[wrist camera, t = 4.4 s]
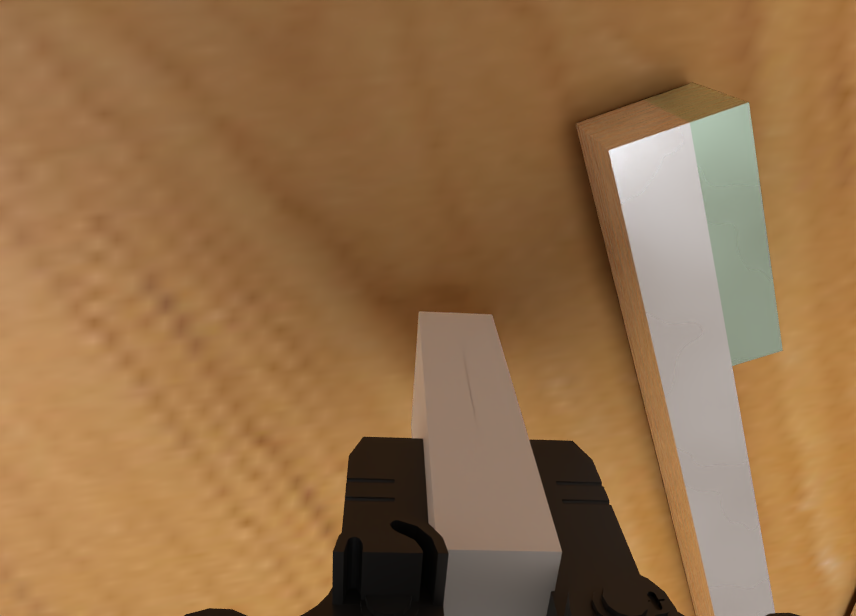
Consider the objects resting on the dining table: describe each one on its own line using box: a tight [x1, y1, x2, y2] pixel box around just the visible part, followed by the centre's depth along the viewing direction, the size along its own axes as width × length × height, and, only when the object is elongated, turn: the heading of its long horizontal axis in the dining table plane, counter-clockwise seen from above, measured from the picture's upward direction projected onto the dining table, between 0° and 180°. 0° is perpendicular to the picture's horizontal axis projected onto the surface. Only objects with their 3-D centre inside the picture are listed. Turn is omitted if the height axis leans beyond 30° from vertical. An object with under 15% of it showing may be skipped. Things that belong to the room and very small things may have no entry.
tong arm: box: [576, 83, 783, 616], centre depth 16 cm, size 17×2×2 cm, turn 19°
